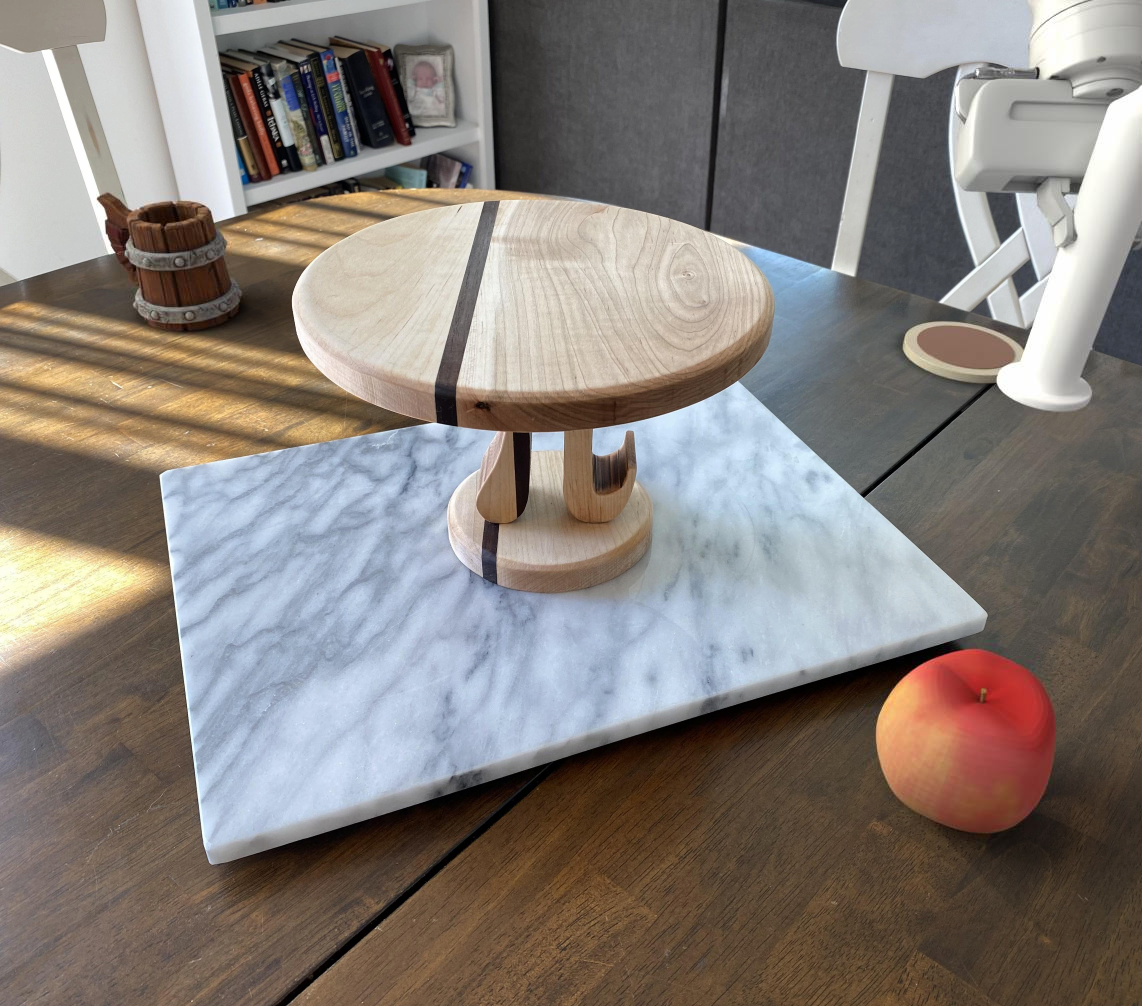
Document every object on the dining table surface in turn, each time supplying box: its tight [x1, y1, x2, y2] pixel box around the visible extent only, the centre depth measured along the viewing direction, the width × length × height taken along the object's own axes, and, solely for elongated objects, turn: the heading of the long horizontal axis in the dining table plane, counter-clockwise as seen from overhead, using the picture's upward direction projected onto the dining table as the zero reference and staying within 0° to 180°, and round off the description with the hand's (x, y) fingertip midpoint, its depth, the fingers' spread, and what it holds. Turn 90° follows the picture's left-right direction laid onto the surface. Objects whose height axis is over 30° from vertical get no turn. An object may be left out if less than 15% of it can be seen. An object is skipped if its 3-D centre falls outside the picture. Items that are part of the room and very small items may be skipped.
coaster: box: [902, 320, 1025, 384], centre depth 105 cm, size 13×13×1 cm
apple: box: [875, 648, 1057, 834], centre depth 54 cm, size 10×10×10 cm
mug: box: [96, 191, 243, 332], centre depth 106 cm, size 12×14×15 cm
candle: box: [996, 85, 1142, 413], centre depth 68 cm, size 7×7×25 cm
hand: (1101, 245), depth 68 cm, fingers closed on candle, 3 cm apart
